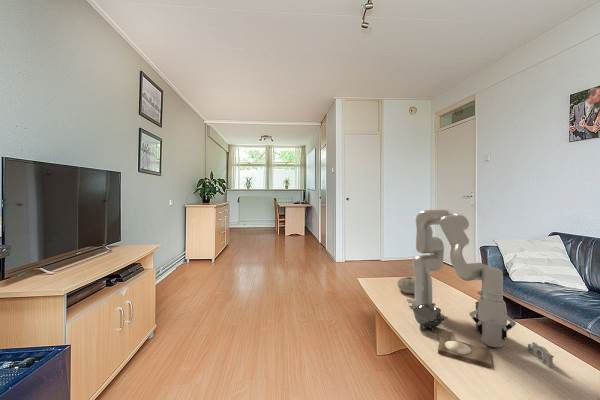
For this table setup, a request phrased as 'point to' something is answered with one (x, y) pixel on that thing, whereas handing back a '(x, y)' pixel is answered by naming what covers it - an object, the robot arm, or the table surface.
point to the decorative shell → (407, 285)
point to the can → (491, 333)
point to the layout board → (464, 351)
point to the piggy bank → (428, 315)
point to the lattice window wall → (538, 352)
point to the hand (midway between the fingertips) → (491, 335)
